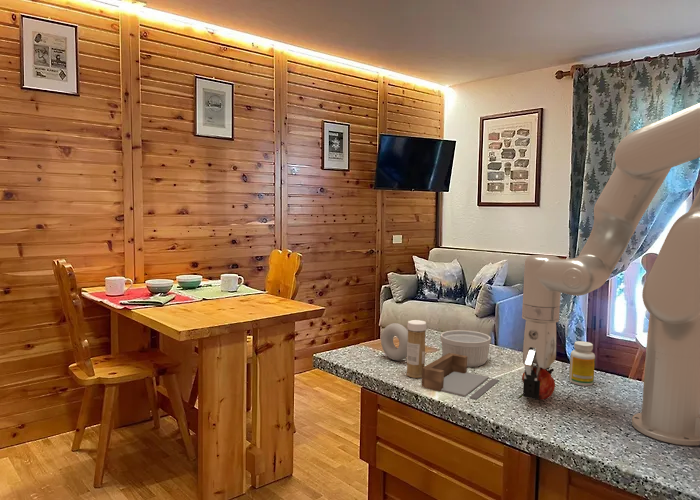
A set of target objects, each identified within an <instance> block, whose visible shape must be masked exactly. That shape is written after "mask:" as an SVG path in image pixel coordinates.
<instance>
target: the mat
mask: <svg viewBox="0 0 700 500" xmlns="http://www.w3.org/2000/svg"><path fill="white" fill-rule="evenodd" d="M489 378H490V377H489V376H486V375H483V374H477V373H472V372H468V371H467V372H466V373H460V372H455V371H454V372H452V373H451V374H449V375H447V376H446V377H444V385H443V388H442V389H441V391H440V392H442V393H447V394H452V395H456V396H460V397H464V398H466V397H467V396H468V395H470V393H472V392H473V391H475V390H476V389H477V388H479V386H481V385H482V384H483V383H485V382H486V381H488V380H489Z"/></svg>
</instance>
